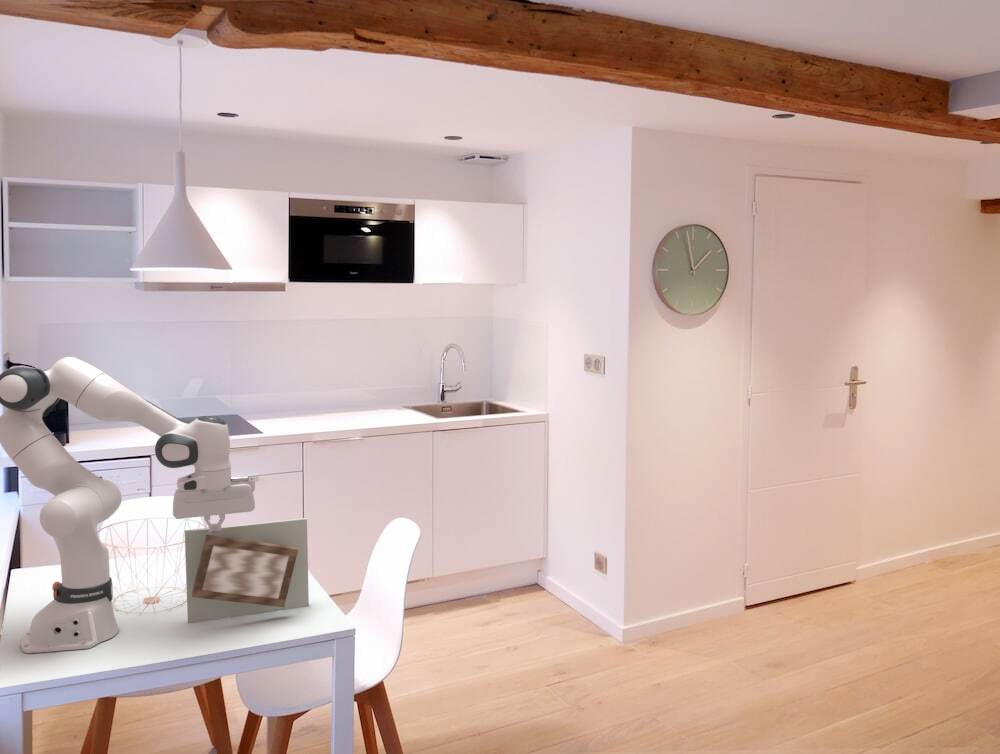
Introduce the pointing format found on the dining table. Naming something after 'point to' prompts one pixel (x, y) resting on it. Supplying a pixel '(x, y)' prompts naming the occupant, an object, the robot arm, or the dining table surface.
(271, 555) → the walnut frame
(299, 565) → the sage wall panel
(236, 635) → the dining table surface
